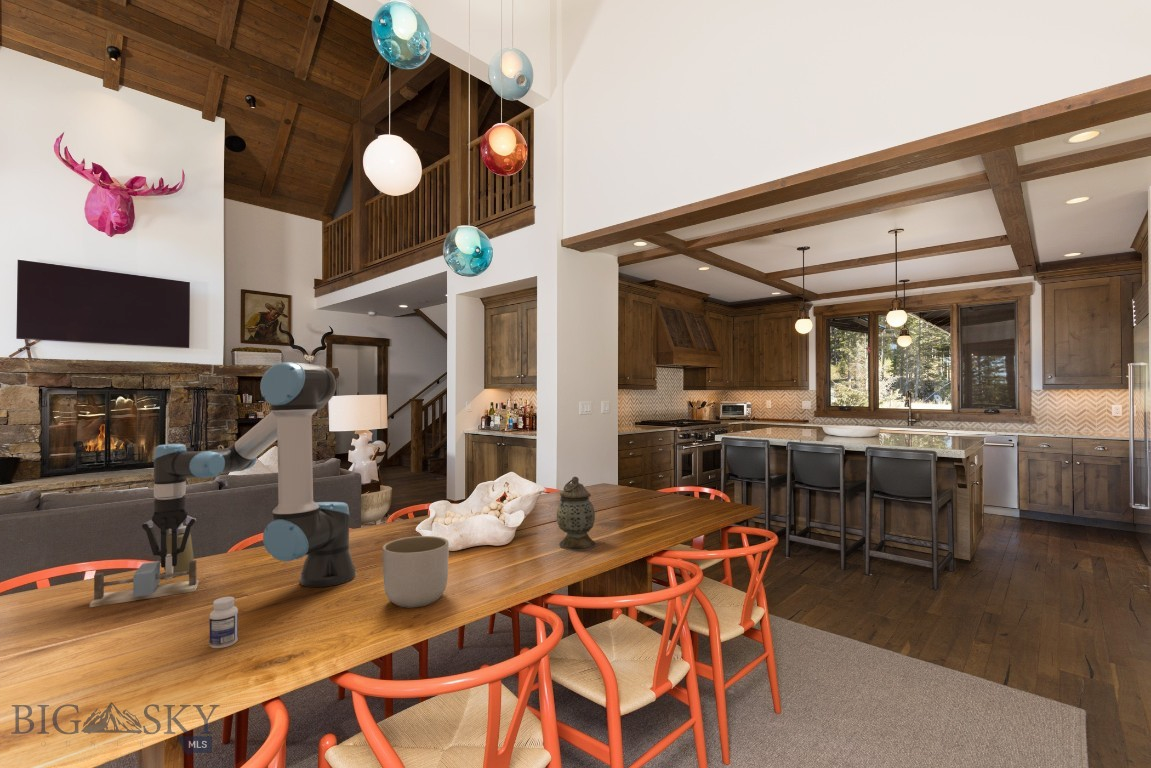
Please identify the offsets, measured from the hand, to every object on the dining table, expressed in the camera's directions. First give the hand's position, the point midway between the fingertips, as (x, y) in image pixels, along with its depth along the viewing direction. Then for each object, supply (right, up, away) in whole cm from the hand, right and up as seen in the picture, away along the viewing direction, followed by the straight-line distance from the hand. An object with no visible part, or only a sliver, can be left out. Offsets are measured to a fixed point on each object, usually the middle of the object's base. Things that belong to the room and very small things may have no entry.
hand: (169, 577), depth 159 cm
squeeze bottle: (-7, -3, +12) cm, 14 cm away
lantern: (+120, -2, +38) cm, 126 cm away
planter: (+77, -2, -14) cm, 78 cm away
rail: (-1, -3, -6) cm, 7 cm away
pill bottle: (+40, -2, -38) cm, 55 cm away
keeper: (-2, -1, -6) cm, 6 cm away
